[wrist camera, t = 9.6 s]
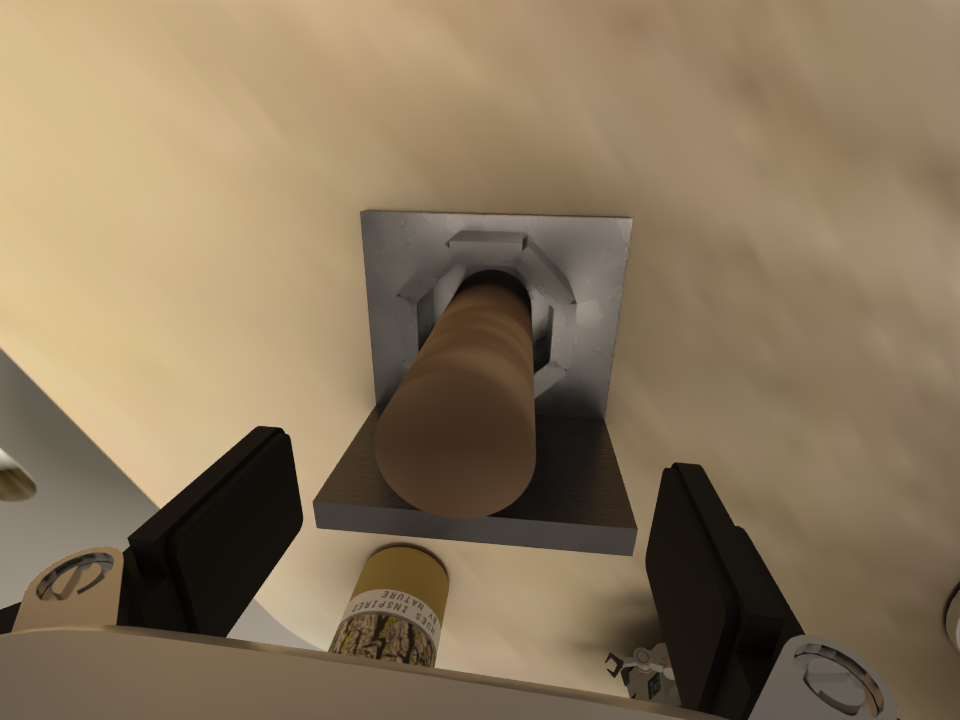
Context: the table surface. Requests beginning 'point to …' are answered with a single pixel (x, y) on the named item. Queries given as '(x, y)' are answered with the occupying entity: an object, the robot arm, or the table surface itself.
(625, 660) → the figurine
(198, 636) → the robot arm
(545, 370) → the bracket
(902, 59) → the table surface
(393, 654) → the paper tube
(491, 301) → the brown wooden cylinder
